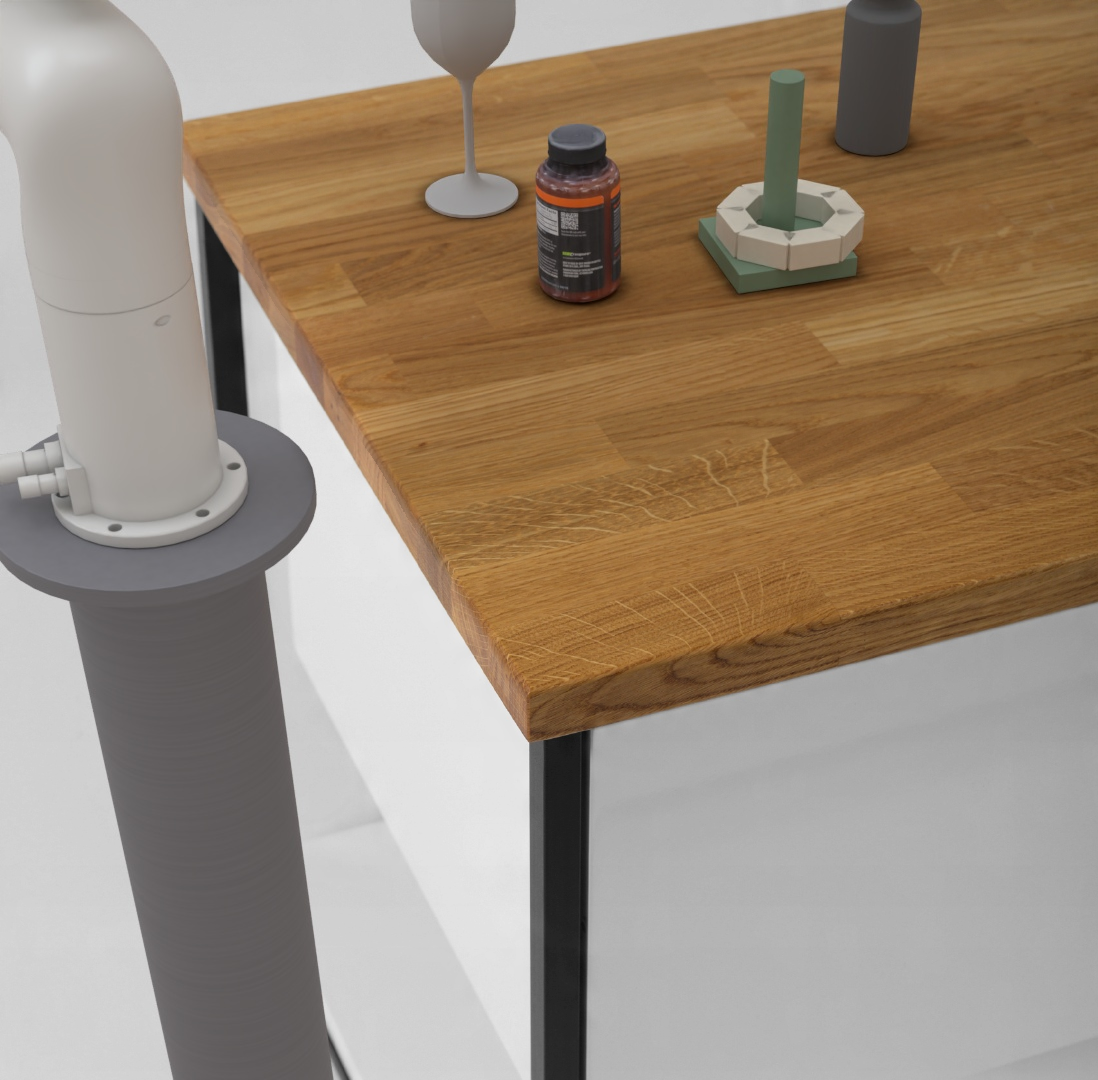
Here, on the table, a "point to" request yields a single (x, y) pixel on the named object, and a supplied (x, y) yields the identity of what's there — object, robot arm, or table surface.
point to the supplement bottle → (578, 216)
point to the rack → (777, 196)
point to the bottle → (877, 75)
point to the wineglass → (466, 91)
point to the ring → (796, 246)
